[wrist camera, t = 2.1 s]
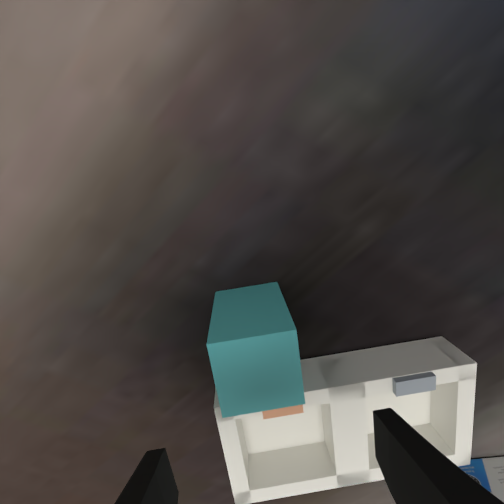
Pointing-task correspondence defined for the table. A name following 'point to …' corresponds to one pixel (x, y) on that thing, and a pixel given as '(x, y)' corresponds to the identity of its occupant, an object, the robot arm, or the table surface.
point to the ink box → (488, 474)
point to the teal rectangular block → (254, 351)
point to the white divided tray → (351, 419)
